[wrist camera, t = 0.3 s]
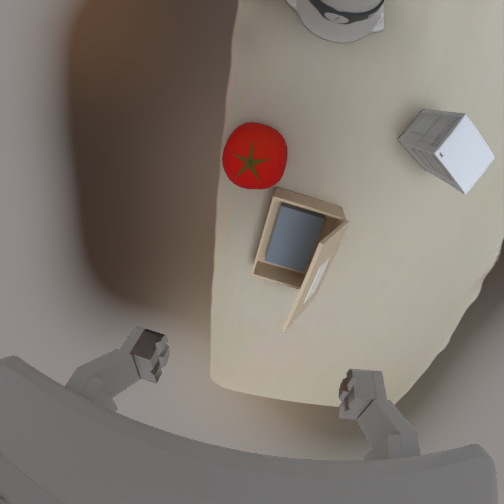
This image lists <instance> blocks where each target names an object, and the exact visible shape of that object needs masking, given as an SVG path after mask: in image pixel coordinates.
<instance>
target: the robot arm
mask: <svg viewBox="0 0 504 504" xmlns="http://www.w3.org/2000/svg"><path fill="white" fill-rule="evenodd" d="M286 1H287V3H288V4H289V5H290V6H291V7H292V8H293V9H294V10H296V11H297V13H298V15H299V17H300V19H301V21H302V22H303V24H304V25H305V26H306V27H307V28H308V29H309V30H310V31H311V32H312V33H314V34H315V35H317V36H319V37H321V38H323V39H326V40H329V41H333V42H341V43H346V42H353V41H356V40H359V39H361V38H362V37H364V36H366V35H367V34H369V33H376V32H381V31H382V30H383V29H384V8H383V2H384V0H286ZM167 341H168V338H167V335H164V334H160V333H158V332H155V331H152V330H149V329H145V328H142V327H139V326H136V327H134V328H133V330H132V331H131V333H130V334H129V336H128V337H127V339H126V340H125V342H124V343H123V345H122V346H121V348H120V349H119V350H118V349H115V350H113V351H112V352H109V353H107V354H105V355H103V356H101V357H99V358H97V359H94V360H92V361H90V362H88V363H86V364H84V365H82V366H80V367H78V368H77V369H76V371H75V372H74V373H73V375H72V376H71V378H70V379H69V381H68V382H67V384H66V385H65V386H63V385H61V384H60V383H58V382H56V381H54V380H53V379H51V378H49V377H48V376H46V375H45V374H43V373H41V372H40V371H38V370H37V369H35V368H34V367H32V366H31V365H29V364H28V363H26V362H25V361H24V360H22V359H21V358H19V357H18V356H14V355H13V356H8V357H5V358H2V359H0V504H498V492H497V477H496V469H495V464H494V461H493V459H492V458H491V456H490V455H489V454H488V453H487V452H486V451H485V450H484V449H483V448H482V447H481V446H480V445H478V444H471V445H468V446H464V447H460V448H456V449H451V450H446V451H441V452H436V453H430V454H425V455H420V449H419V441H418V435H417V432H416V430H415V429H414V428H413V427H412V426H411V425H410V423H409V422H408V421H407V420H406V419H405V418H404V416H403V415H402V414H401V413H400V412H399V410H398V409H397V408H396V407H395V406H394V405H393V403H392V402H391V401H390V400H387V397H386V391H385V385H384V380H383V374H382V372H381V371H372V370H371V371H370V370H360V369H350V370H348V372H347V378H345V379H343V380H342V382H341V385H340V388H339V399H340V400H341V401H342V403H341V404H340V406H339V418H341V419H357V420H356V421H357V422H358V424H359V426H360V427H361V429H362V431H363V432H364V434H365V436H366V437H367V439H368V440H369V442H370V444H371V445H372V447H373V449H372V450H371V451H370V452H368V453H367V454H366V455H365V456H364V460H357V461H356V460H354V461H338V460H312V459H298V458H288V457H279V456H271V455H263V454H257V453H250V452H245V451H240V450H235V449H230V448H225V447H221V446H217V445H212V444H208V443H204V442H200V441H197V440H193V439H189V438H186V437H183V436H179V435H175V434H172V433H170V432H166V431H164V430H161V429H158V428H155V427H152V426H149V425H147V424H144V423H141V422H139V421H136V420H134V419H131V418H129V417H126V416H124V415H122V414H119V413H117V412H116V411H117V406H116V404H115V402H114V401H113V399H112V398H113V397H115V396H116V395H117V394H119V393H120V392H122V391H124V390H125V389H127V388H128V387H129V386H131V385H132V384H134V383H135V382H137V381H138V380H140V379H144V380H147V381H150V382H153V383H157V382H158V380H159V378H160V376H161V374H162V371H161V368H162V367H164V366H165V365H166V363H167V361H168V357H169V346H168V345H167V344H166V343H167Z"/></svg>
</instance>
